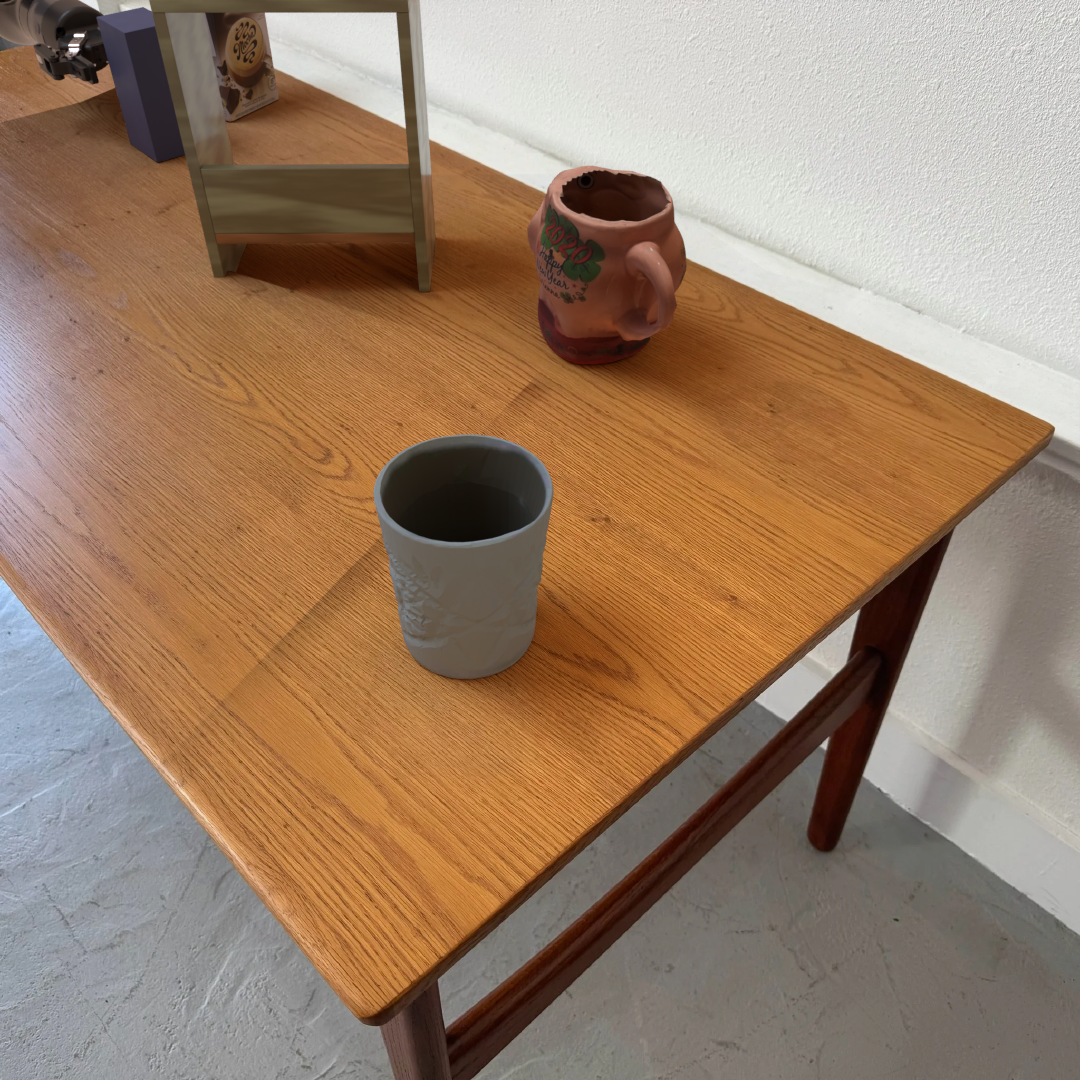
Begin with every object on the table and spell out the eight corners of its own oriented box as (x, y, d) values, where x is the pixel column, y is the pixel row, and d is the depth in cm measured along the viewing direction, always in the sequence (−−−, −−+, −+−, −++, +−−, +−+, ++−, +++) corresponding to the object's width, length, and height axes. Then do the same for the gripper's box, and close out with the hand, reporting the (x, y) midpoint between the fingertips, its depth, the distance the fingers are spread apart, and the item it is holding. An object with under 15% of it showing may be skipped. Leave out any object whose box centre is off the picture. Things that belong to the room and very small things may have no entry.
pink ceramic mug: (730, 382, 87) (755, 229, 77) (608, 426, 82) (619, 268, 73) (602, 279, 99) (610, 135, 90) (490, 311, 95) (486, 164, 85)
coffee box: (232, 123, 127) (204, -22, 115) (193, 112, 129) (162, -30, 118) (281, 99, 132) (258, -41, 121) (243, 89, 135) (217, -49, 124)
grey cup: (361, 645, 65) (336, 503, 57) (452, 551, 72) (442, 411, 64) (494, 713, 62) (488, 572, 53) (578, 608, 68) (585, 467, 60)
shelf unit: (239, 238, 105) (181, -41, 87) (435, 237, 105) (416, -41, 88) (217, 293, 97) (148, -1, 80) (429, 291, 97) (407, -1, 80)
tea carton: (157, 163, 118) (124, 33, 108) (130, 144, 122) (96, 16, 112) (201, 150, 121) (172, 22, 111) (173, 132, 124) (143, 6, 115)
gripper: (133, 51, 133) (193, 85, 124) (24, 76, 126) (79, 114, 117) (117, -13, 128) (178, 18, 119) (2, 10, 121) (58, 45, 112)
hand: (129, 66), depth 118 cm, fingers open, 8 cm apart
